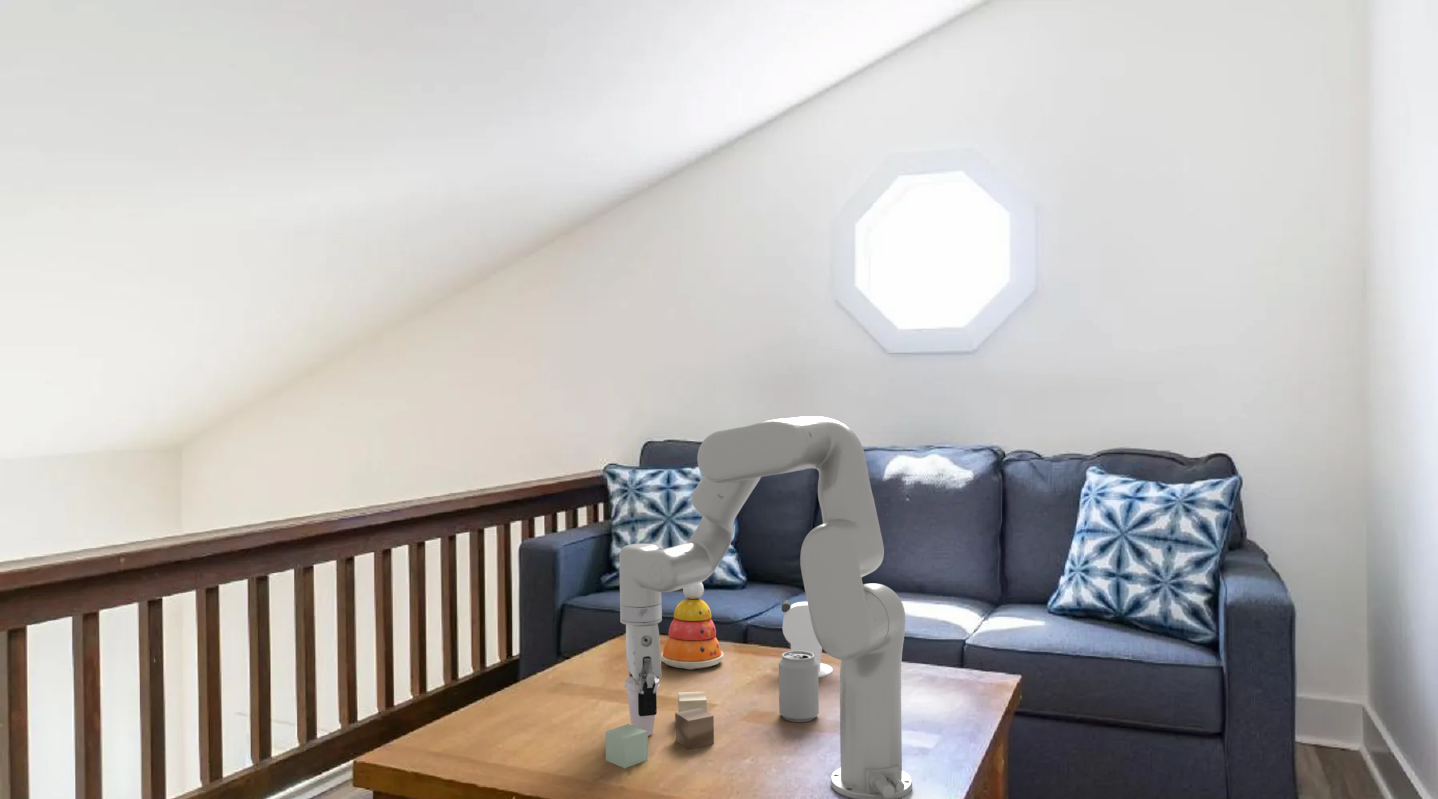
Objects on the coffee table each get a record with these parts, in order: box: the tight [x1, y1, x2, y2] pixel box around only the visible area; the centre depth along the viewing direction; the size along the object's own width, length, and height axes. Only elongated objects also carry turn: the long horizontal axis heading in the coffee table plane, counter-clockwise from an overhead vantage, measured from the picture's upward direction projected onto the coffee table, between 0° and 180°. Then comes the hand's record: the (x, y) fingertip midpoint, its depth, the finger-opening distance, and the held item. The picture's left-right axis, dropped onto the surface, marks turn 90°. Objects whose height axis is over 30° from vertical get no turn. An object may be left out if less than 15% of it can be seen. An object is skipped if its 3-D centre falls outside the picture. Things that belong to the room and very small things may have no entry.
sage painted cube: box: [604, 723, 649, 769], centre depth 171 cm, size 5×5×5 cm
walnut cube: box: [674, 708, 715, 750], centre depth 179 cm, size 5×5×5 cm
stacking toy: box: [660, 582, 725, 671], centre depth 228 cm, size 14×14×20 cm
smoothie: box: [624, 675, 661, 737], centre depth 184 cm, size 6×6×14 cm
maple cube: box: [677, 691, 708, 712], centre depth 189 cm, size 5×5×5 cm
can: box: [778, 650, 820, 723], centre depth 191 cm, size 8×8×12 cm
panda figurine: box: [781, 599, 834, 678], centre depth 221 cm, size 12×11×15 cm
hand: (642, 706), depth 184 cm, fingers open, 9 cm apart
